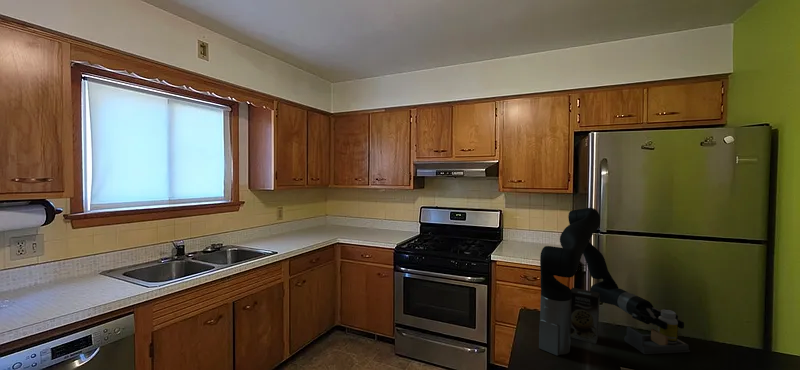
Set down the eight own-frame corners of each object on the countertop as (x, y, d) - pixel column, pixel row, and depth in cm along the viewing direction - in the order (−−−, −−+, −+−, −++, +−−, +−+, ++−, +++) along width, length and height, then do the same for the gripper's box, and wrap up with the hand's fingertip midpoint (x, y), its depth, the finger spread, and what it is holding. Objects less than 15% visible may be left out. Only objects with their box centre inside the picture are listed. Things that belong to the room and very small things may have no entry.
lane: (644, 354, 111) (645, 337, 111) (623, 340, 120) (624, 325, 120) (690, 351, 113) (691, 335, 113) (666, 338, 122) (667, 323, 122)
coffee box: (566, 337, 122) (568, 291, 122) (570, 330, 128) (571, 286, 127) (596, 344, 117) (598, 297, 116) (598, 337, 122) (600, 291, 122)
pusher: (665, 348, 114) (665, 337, 113) (650, 339, 119) (651, 329, 119) (667, 348, 114) (667, 337, 114) (652, 339, 119) (653, 328, 119)
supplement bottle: (680, 345, 114) (682, 315, 113) (662, 343, 115) (663, 314, 114) (671, 337, 119) (672, 309, 119) (653, 335, 120) (654, 307, 120)
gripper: (617, 296, 130) (655, 315, 113) (652, 295, 131) (695, 314, 115) (616, 316, 130) (654, 338, 114) (651, 314, 132) (694, 336, 115)
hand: (674, 326), depth 114 cm, fingers closed on supplement bottle, 5 cm apart
